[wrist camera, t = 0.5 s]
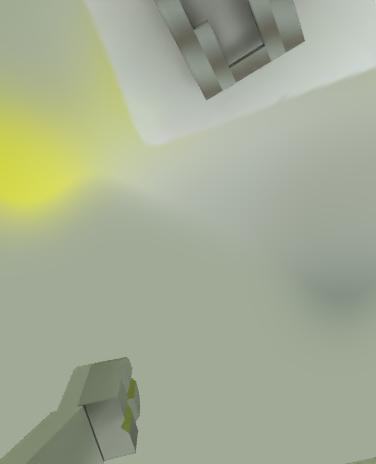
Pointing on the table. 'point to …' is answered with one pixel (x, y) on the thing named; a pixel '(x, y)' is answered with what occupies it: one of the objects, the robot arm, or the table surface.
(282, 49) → the wood and metal frame
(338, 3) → the table surface
